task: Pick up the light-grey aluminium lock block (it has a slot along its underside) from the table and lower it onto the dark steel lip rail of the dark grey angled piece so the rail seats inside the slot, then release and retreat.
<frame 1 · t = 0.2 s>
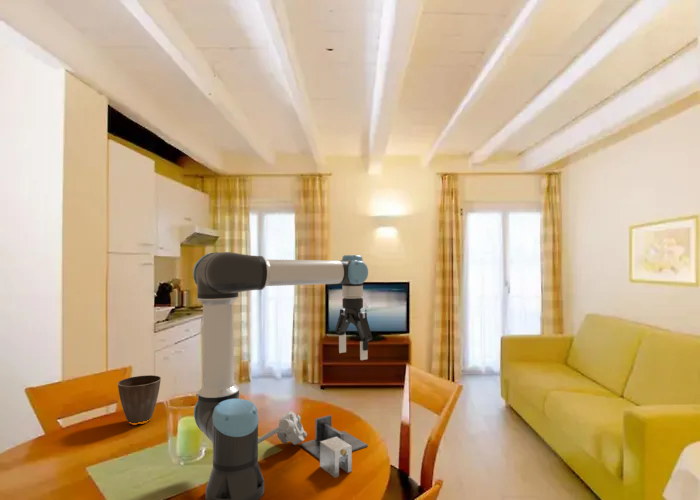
hand: (352, 355, 150), 28 cm above the table, fingers open, 13 cm apart
lock: (335, 469, 124), on the table
dark grey angled piece: (333, 446, 139), on the table
plant pot: (139, 422, 160), on the table
valve: (276, 447, 137), on the table, touching dark grey angled piece
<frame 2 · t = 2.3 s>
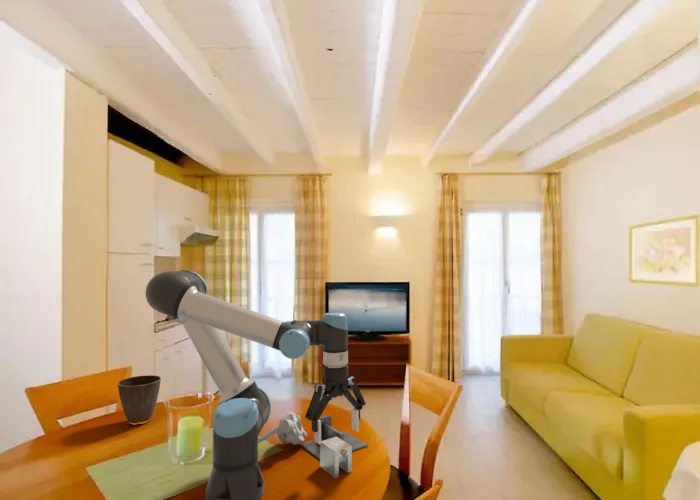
hand: (337, 436, 124), 10 cm above the table, fingers open, 13 cm apart
nothing on the table moved.
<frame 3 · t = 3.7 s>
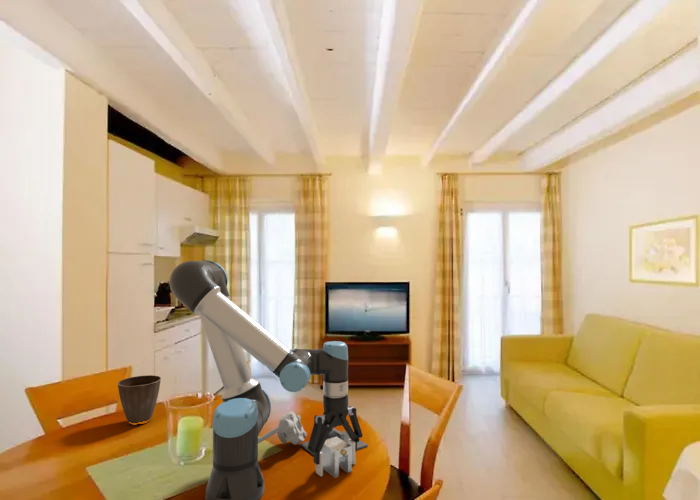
hand: (336, 468, 124), 0 cm above the table, fingers open, 11 cm apart
nothing on the table moved.
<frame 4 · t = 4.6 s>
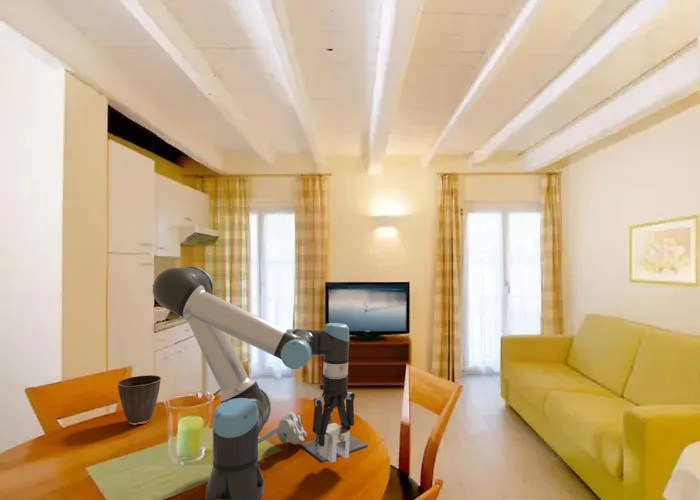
hand: (332, 453, 124), 5 cm above the table, fingers closed on lock, 6 cm apart
lock: (332, 454, 124), point 4 cm above the table, touching gripper
everything else where it was.
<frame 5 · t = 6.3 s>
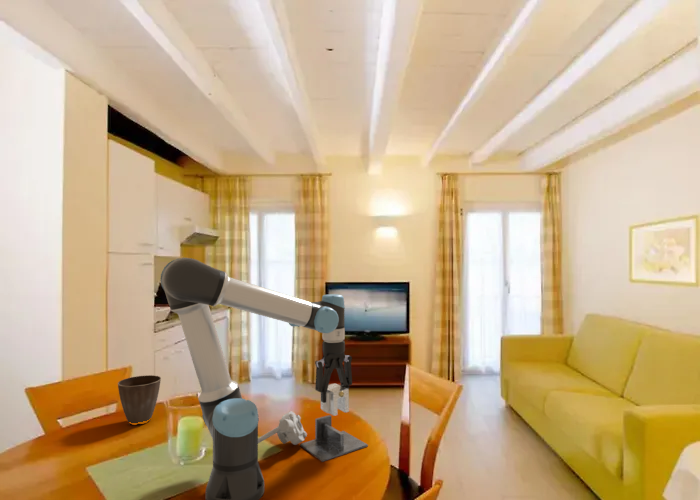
hand: (334, 409, 139), 12 cm above the table, fingers closed on lock, 6 cm apart
lock: (334, 410, 139), point 12 cm above the table, touching gripper
everything else where it was.
when the fingers open (2 cm above the table, at t = 8.0 s): lock drops 1 cm, resting on dark grey angled piece.
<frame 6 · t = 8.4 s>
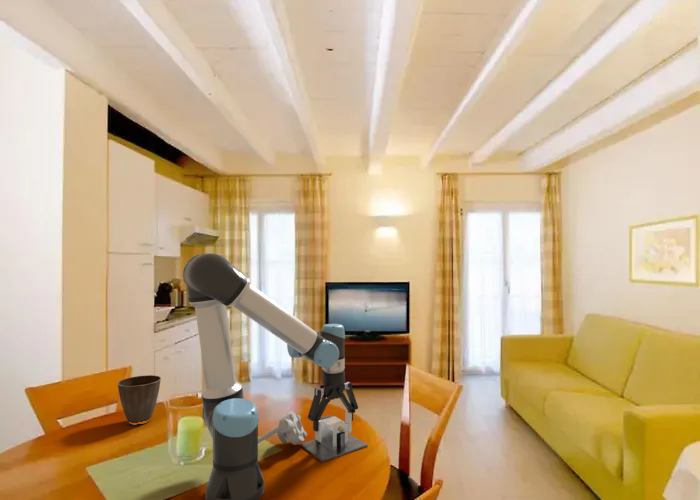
hand: (333, 435, 139), 3 cm above the table, fingers open, 11 cm apart
lock: (333, 444, 139), point 1 cm above the table, touching dark grey angled piece
everything else where it was.
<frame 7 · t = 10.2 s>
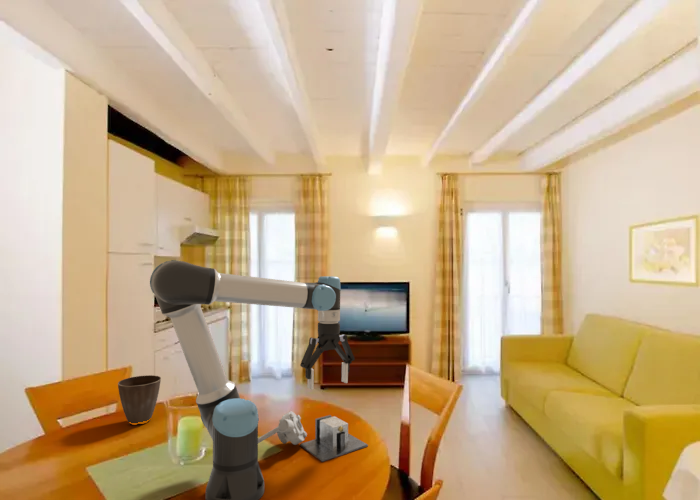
hand: (328, 385, 139), 20 cm above the table, fingers open, 13 cm apart
nothing on the table moved.
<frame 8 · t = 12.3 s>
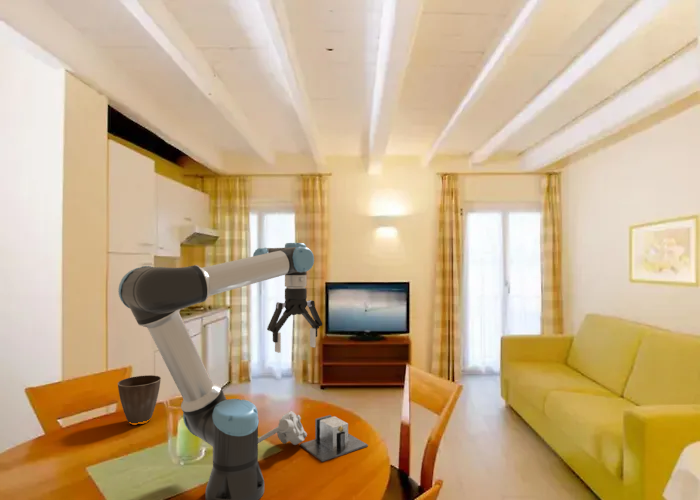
hand: (295, 349, 142), 32 cm above the table, fingers open, 13 cm apart
nothing on the table moved.
at the end: lock inside the target area on the dark grey angled piece (0.1 cm from its centre), point 0.6 cm above the dark grey angled piece's base; lock tilted 0°; the gripper is holding nothing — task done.
